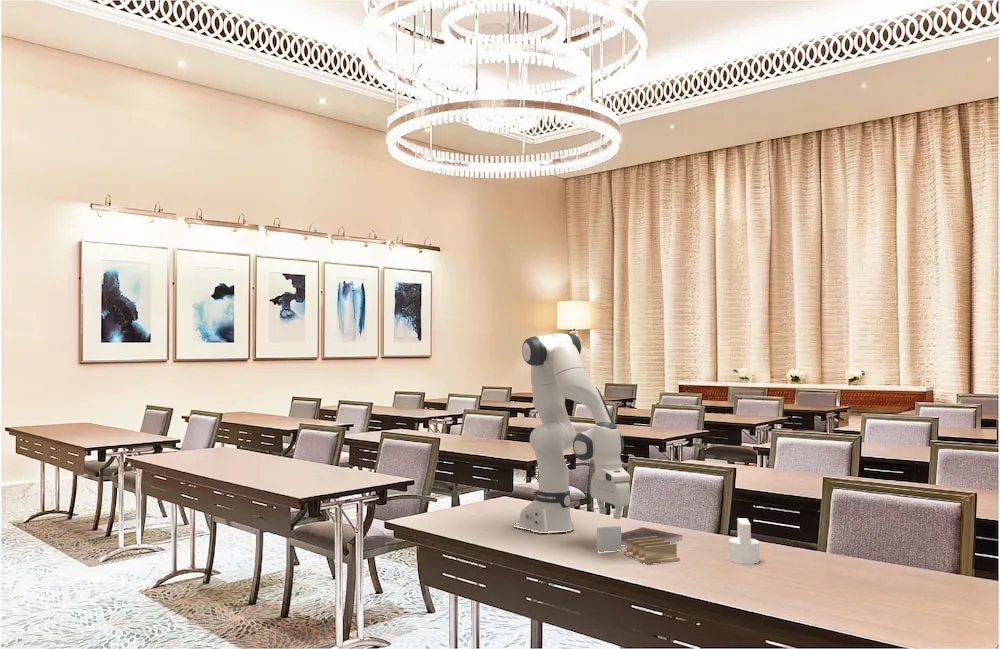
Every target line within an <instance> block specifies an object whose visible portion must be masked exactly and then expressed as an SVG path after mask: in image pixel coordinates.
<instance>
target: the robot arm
mask: <svg viewBox="0 0 1000 649" xmlns="http://www.w3.org/2000/svg"><path fill="white" fill-rule="evenodd" d="M521 352H522V357H523V360H524V361H525V363H526V364H528V365H529V366H530V383H531V384H530V386H531V391H532V392H531V393H532V398H533V399H532V400H533V405H534V409H535V410H536V412H537V414H538V416H539V419H540V421H541V424H539V425H537V427H535V428H534V429H533V430H532V431H531V432H530V435H529V444H530V447H531V448H532V450H533V451H534V454H535V460H536V463H537V468H538V469H537V470H538V489H537V490H535V491H533V492H532V496H535V497H534V500H533V501H531V502H530V503H529V504H528V505H526V506H525V507H524V508H522V509H521V511H520V514H519V515H520V516H519V521H516V522H515V523H519V524H515V523H514V524H513V526H514V525H515V526H519V527H523V528H526V529H530V530H534V531H538V532H548V531H568V530H571V529H573V528H574V525H573V522H572V515H571V509H570V506H571V490H570V469H569V467H568V465H567V464H566V463H567V462H566V459H565V455H564V450H567V449H569V448H570V447H572V449H573V450H572V451H573V453H574V455H575V456H576V458H577V459H579V461H584V462H588V461H590V462H591V461H594V462H593V465H594V470H593V472H592V476H591V477H590V484H589V485H590V488H589V489H590V491H589V492H590V497H591V498H592V499H595V500H596V503H597V505H598V509H599V510H598V511H599V514H601V515H607V508H606V506H605V503H607V504H611V505H614V512H613V518H614V519H616V520H621V518H622V514H621V513H622V511H623V508H624V507H628V506H629V505H630V503H631V486H630V483H629V482H630V481H631V475H630V473H628V472H627V470H626V469H624V467H623V463H622V459H621V455H622V454H623V451H624V447H625V441H624V438H623V436H622V434H621V431H620V429H619V426H618V425H616V424H615V422H614V419H613V417H612V415H611V413H610V410H609V408H608V406H607V403H606V401H605V399H604V397H603V395H602V393H601V391H600V389H598V387H596V386H595V385H594V383H592V382H593V381H591V379H590V378H589V375H588V373H587V369H586V367H585V364H584V361H583V358H582V357H581V353H582V342H581V340H580V339H579V337H578V336H577V335H576V334H574V333H571V332H565V333H559V332H558V333H549V334H544V335H543V334H542V335H537V336H530V337H528V338H526V339H525V340H524V341H523V343H522V346H521ZM564 397H565V399H568V400H571V401H574V402H578V403H579V404H581V405H583V406H585V407H586V408H588V409H589V411H590V413H591V415H592V418H593V420H594V422H595V424H594V425H593V427H591V428H590V429H588V430H584V431H582V432H579V433H577V431H576V429H575V427H574V425H573V424H572V422H571V419H570V416H569V414H568V412H567V409H566V404H565V399H564Z"/></svg>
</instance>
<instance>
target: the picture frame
mask: <svg viewBox="0 0 1000 649" xmlns="http://www.w3.org/2000/svg"><path fill="white" fill-rule="evenodd" d="M652 536H657V537H658V539H664V541H670V543H671V544H674V543H677V542H680V541H679V540H681V541H683V540H682V539H683V534H679V533H673V532H669V531H664V530H660V529H659V530H658V529H654V528H648V527H639V528H635V529H633V530H632V529H631V530H629V531H624V532H621V545H625V546H627V539H633V538H643V537H652ZM676 541H677V542H676ZM673 542H674V543H673Z"/></svg>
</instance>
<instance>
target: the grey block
mask: <svg viewBox="0 0 1000 649" xmlns="http://www.w3.org/2000/svg"><path fill="white" fill-rule="evenodd" d="M621 533H622V526H620V525H611V526H602V527H601V526H599V527H596V547H597V549H596V551H599V552H604V551H617V550H621V551H622V546H621Z"/></svg>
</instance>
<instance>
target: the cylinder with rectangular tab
mask: <svg viewBox="0 0 1000 649" xmlns="http://www.w3.org/2000/svg"><path fill="white" fill-rule="evenodd" d="M736 520H737V524H736V525H737V528H736V530H737V537H731V538H729V540H728V543H729V544H728V560H729V559H730V560H731V561H730V560H729V561H730V562H732V561H734V562H737V563H736V564H738V563H744V564H743V565H753V564H752V563H757V564H759V563H760V562H759V561H760V558H761V557H760V554H761V553H760V540H757V539H755V538H752V534H751V533H752V532H751V530H752V529H751V528H752V527H751V525H752V524H751V523H750V521H749V519H748V518H741V517H740V518H739V517H737V518H736ZM734 562H733V563H734ZM758 562H759V563H758Z"/></svg>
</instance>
